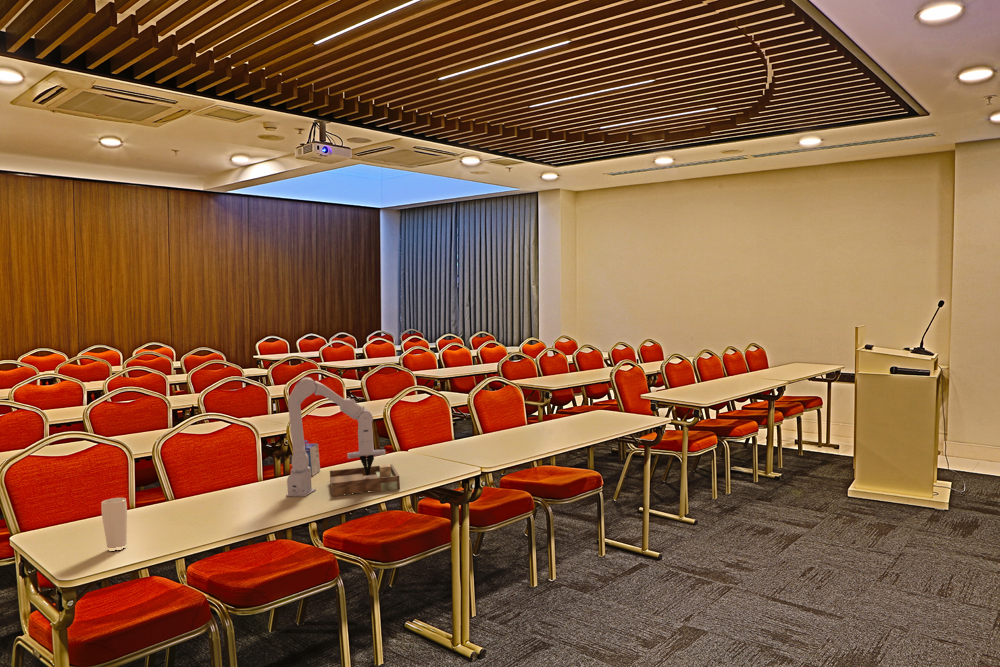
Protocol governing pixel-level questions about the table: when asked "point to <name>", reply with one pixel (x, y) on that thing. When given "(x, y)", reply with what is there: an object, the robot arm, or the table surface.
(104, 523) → the drinking glass
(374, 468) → the box
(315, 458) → the ink cartridge box
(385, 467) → the block
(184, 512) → the table surface
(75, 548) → the table surface
